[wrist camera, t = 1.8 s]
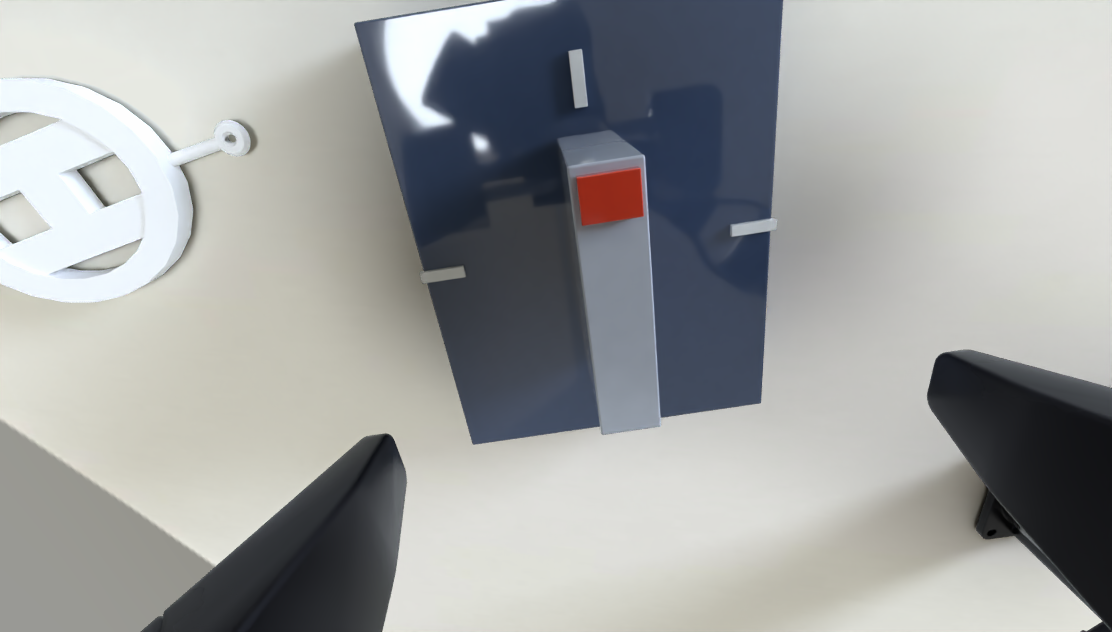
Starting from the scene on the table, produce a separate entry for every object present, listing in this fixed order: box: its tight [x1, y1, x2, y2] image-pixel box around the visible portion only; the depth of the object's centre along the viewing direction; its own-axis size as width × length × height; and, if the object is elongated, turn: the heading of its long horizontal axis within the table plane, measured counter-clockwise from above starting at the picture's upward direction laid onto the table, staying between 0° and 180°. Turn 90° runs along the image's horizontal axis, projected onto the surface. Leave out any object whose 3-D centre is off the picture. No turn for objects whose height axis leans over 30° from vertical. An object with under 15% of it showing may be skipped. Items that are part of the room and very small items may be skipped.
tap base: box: [354, 0, 783, 445], centre depth 17 cm, size 14×11×3 cm
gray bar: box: [556, 130, 661, 435], centre depth 13 cm, size 7×2×5 cm, turn 8°
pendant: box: [0, 78, 251, 302], centre depth 16 cm, size 7×11×1 cm, turn 109°
